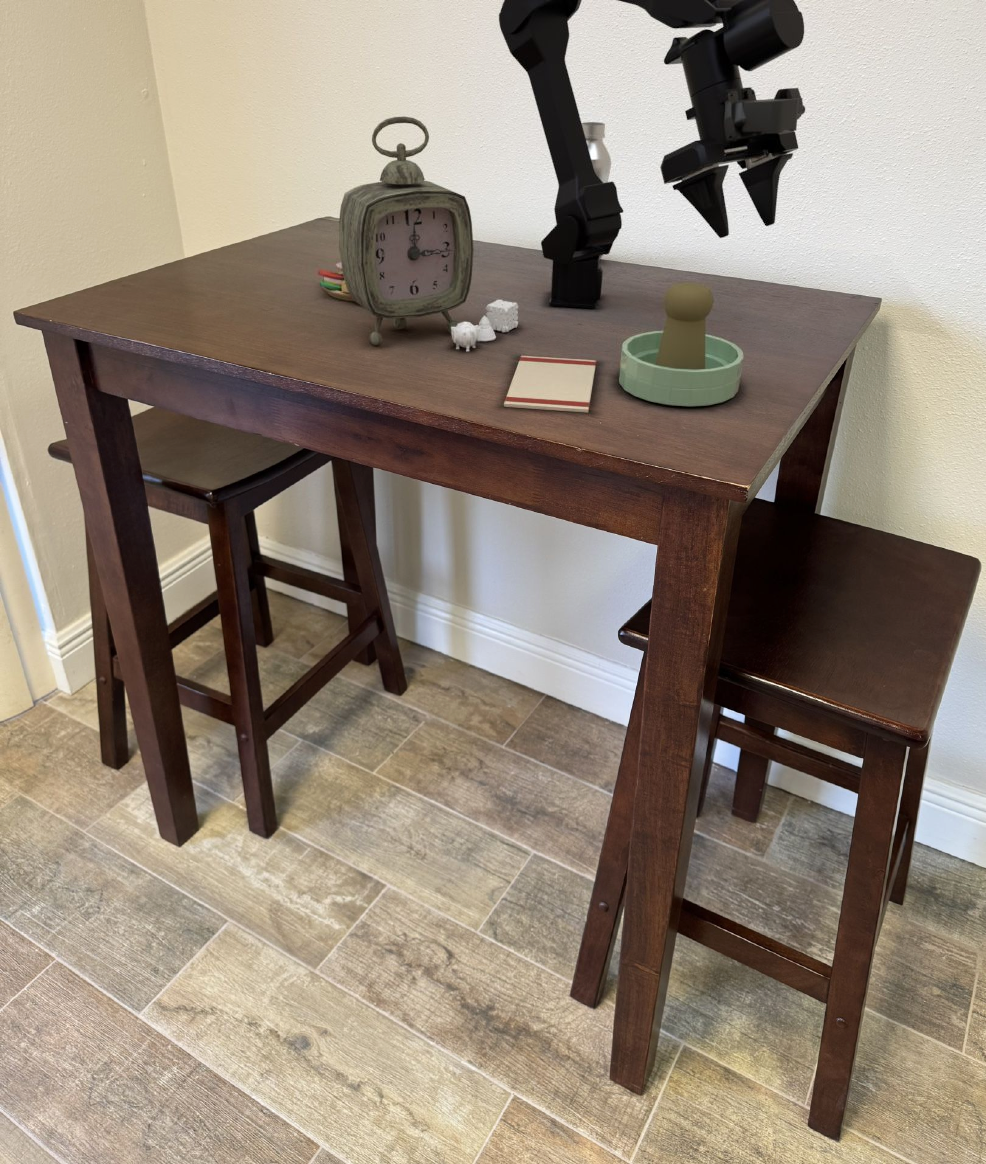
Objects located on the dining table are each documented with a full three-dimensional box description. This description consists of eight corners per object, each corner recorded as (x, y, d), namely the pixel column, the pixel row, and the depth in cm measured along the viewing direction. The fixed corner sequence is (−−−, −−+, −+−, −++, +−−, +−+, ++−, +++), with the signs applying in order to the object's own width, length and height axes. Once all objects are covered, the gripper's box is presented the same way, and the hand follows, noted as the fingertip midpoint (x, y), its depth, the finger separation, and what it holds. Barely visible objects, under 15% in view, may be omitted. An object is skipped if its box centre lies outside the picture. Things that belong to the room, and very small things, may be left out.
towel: (503, 406, 100) (503, 402, 100) (520, 358, 113) (521, 355, 112) (588, 412, 99) (588, 408, 99) (596, 363, 112) (596, 359, 111)
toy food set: (366, 311, 127) (364, 286, 125) (298, 292, 134) (296, 269, 132) (430, 289, 136) (429, 266, 134) (364, 273, 143) (362, 251, 141)
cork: (704, 395, 103) (719, 294, 97) (649, 390, 104) (660, 290, 98) (705, 376, 108) (719, 279, 102) (652, 371, 109) (663, 275, 103)
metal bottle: (608, 257, 152) (619, 121, 141) (598, 268, 147) (609, 127, 136) (570, 254, 154) (577, 119, 143) (559, 264, 149) (566, 125, 138)
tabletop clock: (366, 352, 114) (352, 124, 100) (340, 330, 120) (324, 114, 107) (473, 335, 119) (473, 118, 106) (443, 315, 126) (440, 108, 112)
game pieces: (497, 323, 124) (497, 298, 122) (518, 327, 122) (519, 302, 120) (447, 349, 115) (446, 323, 113) (470, 354, 114) (470, 328, 112)
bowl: (616, 404, 101) (620, 366, 99) (620, 361, 112) (624, 327, 110) (741, 412, 100) (747, 375, 97) (733, 369, 111) (738, 334, 108)
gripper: (724, 61, 93) (760, 220, 97) (823, 53, 104) (853, 197, 108) (642, 106, 102) (677, 251, 106) (741, 95, 113) (770, 227, 116)
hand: (747, 230), depth 109 cm, fingers open, 9 cm apart
